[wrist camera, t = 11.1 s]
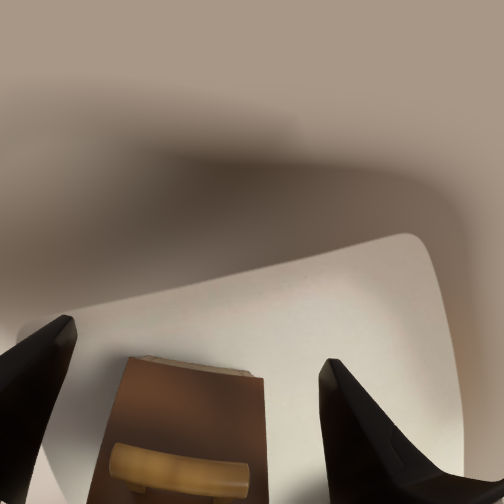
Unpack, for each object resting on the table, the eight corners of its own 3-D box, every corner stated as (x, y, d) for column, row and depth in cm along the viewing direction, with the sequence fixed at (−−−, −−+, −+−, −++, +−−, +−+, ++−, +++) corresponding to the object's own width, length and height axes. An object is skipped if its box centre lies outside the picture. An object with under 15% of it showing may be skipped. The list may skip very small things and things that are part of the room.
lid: (268, 596, 6) (306, 603, 4) (79, 568, 5) (36, 562, 3) (260, 385, 17) (280, 330, 15) (130, 365, 16) (123, 304, 14)
